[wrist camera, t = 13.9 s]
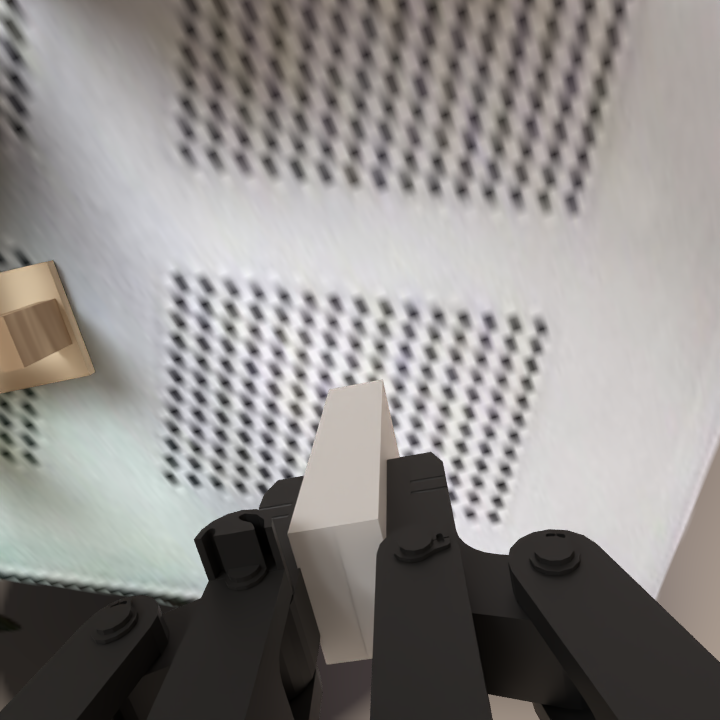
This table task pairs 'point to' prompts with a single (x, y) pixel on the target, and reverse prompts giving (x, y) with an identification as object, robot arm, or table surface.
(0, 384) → the pipe stand
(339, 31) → the table surface
